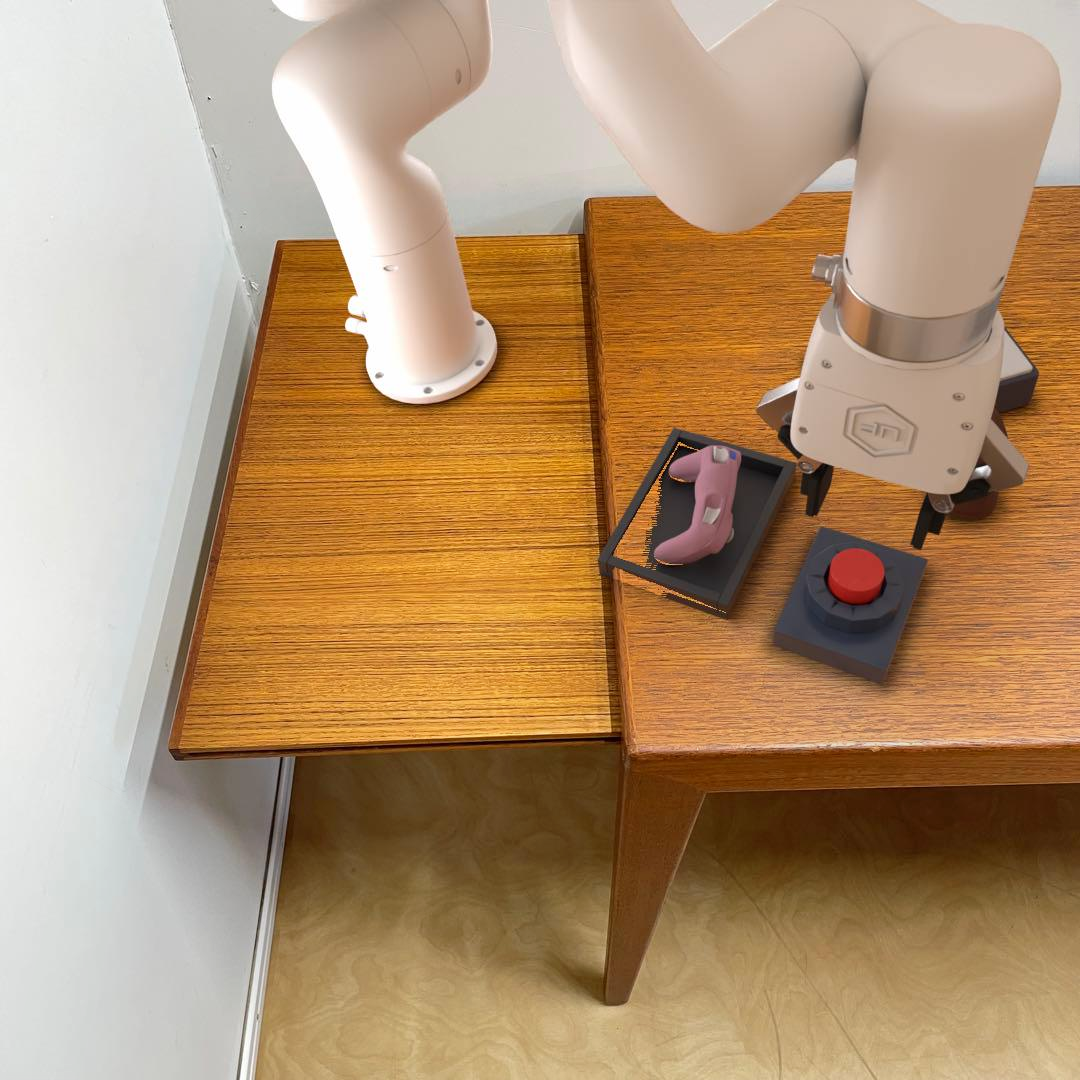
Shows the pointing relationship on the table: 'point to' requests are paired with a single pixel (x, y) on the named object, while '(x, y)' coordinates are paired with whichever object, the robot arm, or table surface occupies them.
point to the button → (856, 576)
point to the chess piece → (986, 504)
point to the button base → (849, 609)
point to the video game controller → (705, 504)
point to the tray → (714, 574)
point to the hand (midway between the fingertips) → (869, 514)
